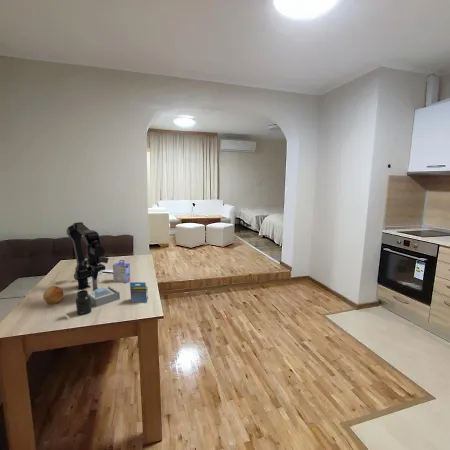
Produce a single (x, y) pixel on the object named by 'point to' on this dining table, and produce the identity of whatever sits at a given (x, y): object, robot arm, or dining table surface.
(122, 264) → the ink cartridge box
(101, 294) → the light blue cube
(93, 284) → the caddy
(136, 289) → the label tape cartridge
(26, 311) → the dining table surface
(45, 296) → the onion
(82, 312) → the supplement bottle
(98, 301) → the bay
